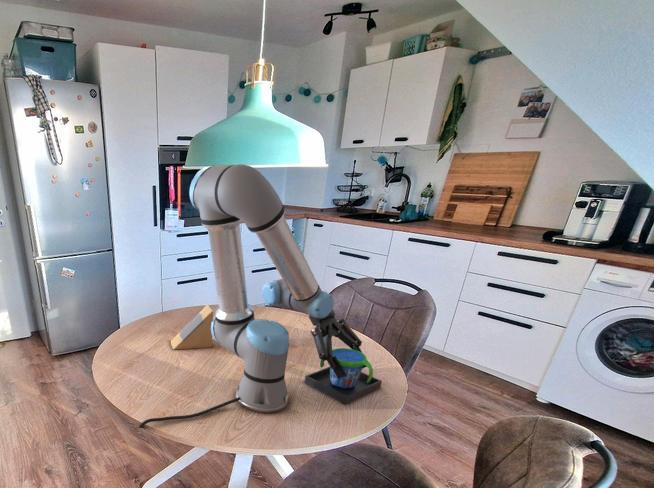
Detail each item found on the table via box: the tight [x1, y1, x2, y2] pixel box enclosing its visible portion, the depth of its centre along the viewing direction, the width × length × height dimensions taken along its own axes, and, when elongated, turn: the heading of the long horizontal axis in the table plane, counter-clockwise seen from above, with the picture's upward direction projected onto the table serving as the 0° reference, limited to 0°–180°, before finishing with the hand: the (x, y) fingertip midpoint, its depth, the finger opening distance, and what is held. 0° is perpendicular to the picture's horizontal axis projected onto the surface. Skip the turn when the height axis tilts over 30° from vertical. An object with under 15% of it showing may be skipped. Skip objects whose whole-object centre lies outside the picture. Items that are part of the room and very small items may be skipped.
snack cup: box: [319, 347, 374, 389], centre depth 120 cm, size 16×10×10 cm
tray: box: [304, 366, 383, 405], centre depth 122 cm, size 17×15×2 cm
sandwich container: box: [170, 303, 214, 350], centre depth 150 cm, size 9×15×15 cm, turn 98°
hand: (354, 372), depth 118 cm, fingers closed on snack cup, 11 cm apart
